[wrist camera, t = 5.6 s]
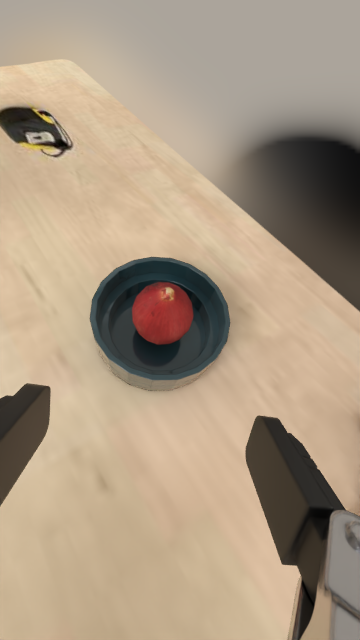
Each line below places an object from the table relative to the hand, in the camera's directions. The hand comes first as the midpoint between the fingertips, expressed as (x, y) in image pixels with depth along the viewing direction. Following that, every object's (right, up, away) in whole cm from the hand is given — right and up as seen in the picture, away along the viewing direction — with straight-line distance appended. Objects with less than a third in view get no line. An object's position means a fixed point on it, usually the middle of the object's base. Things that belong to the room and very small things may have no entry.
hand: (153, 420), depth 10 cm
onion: (-1, +3, +18) cm, 18 cm away
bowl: (-1, +3, +18) cm, 18 cm away
